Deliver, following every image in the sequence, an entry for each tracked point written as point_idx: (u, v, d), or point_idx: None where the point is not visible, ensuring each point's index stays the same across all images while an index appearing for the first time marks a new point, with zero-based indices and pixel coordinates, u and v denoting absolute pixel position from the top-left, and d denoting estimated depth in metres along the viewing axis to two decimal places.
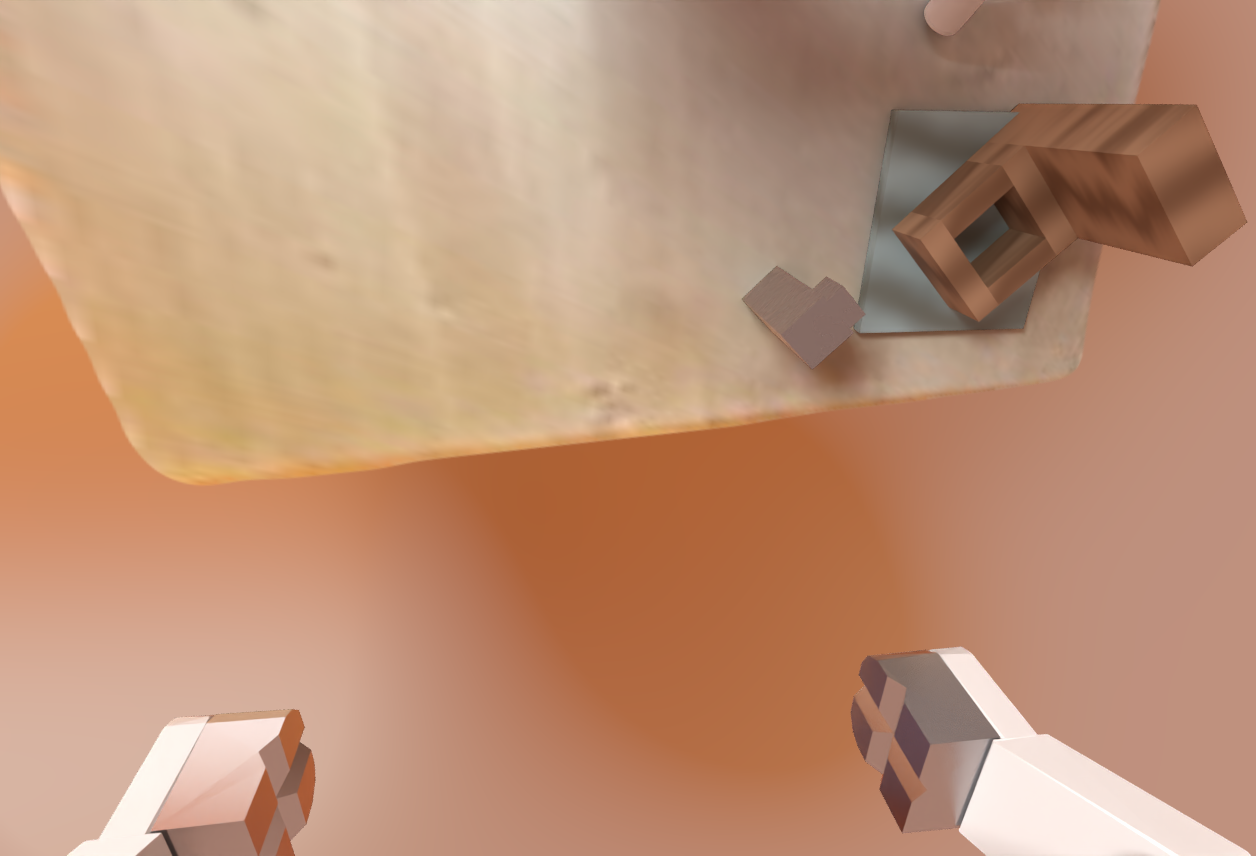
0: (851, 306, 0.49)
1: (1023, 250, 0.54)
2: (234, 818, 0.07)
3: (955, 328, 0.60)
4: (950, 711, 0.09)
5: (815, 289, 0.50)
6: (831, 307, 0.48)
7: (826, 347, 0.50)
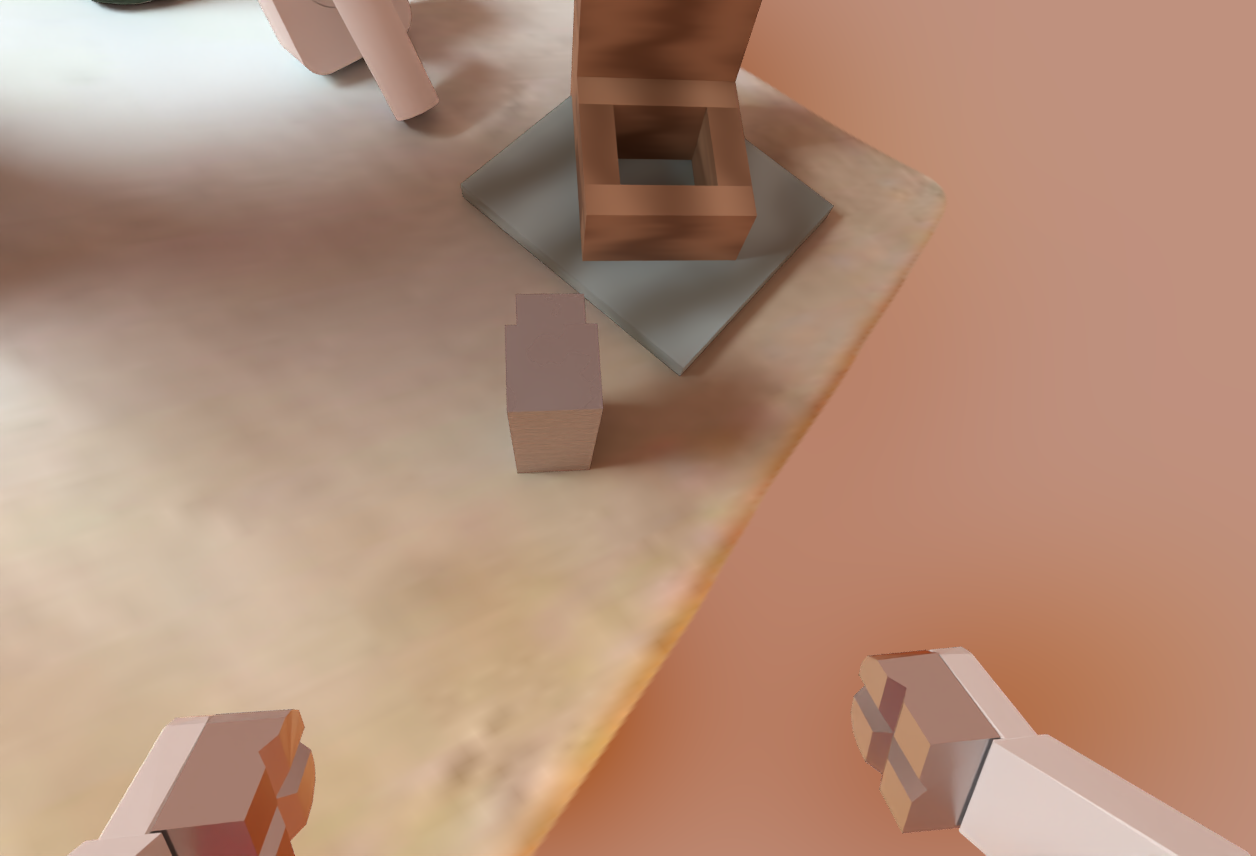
0: (554, 302, 0.29)
1: (707, 136, 0.40)
2: (235, 818, 0.07)
3: (771, 268, 0.42)
4: (949, 711, 0.09)
5: None
6: (531, 325, 0.29)
7: (586, 369, 0.28)
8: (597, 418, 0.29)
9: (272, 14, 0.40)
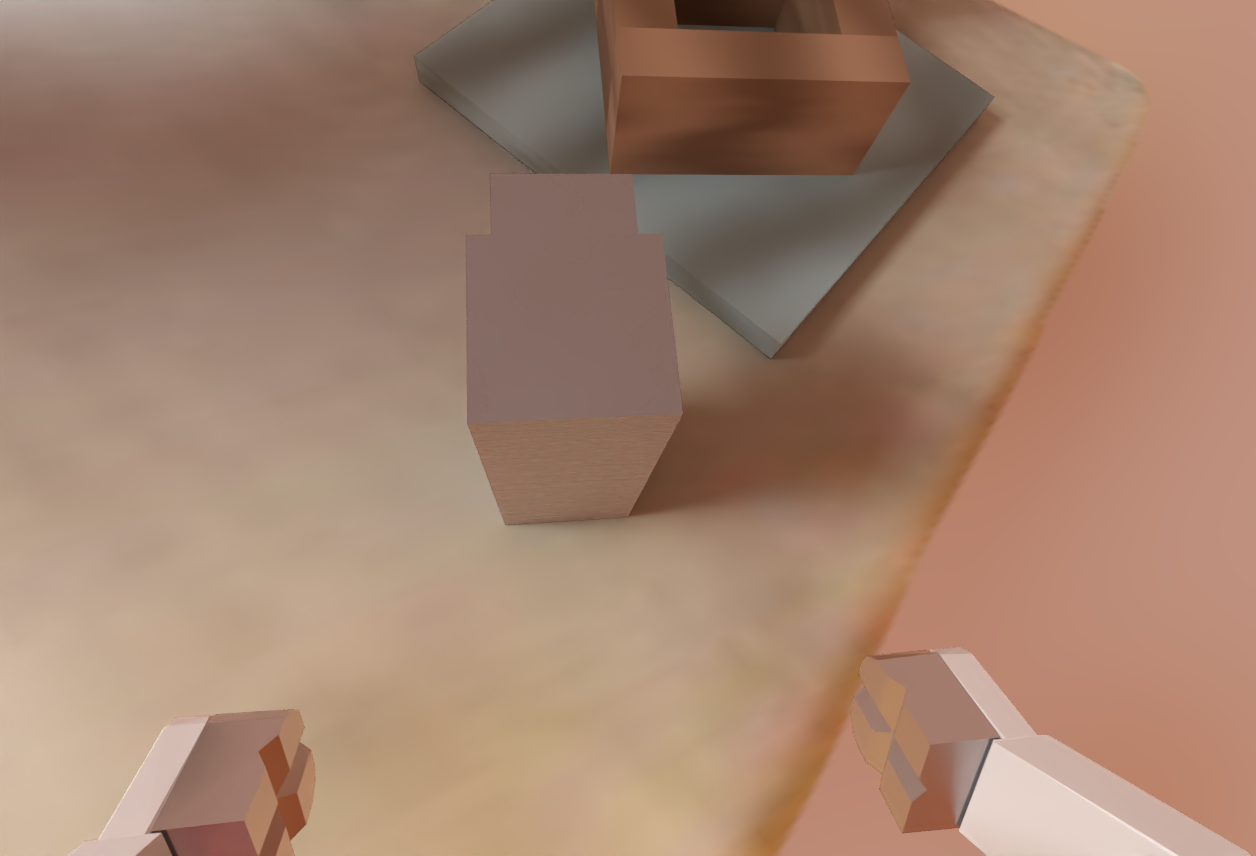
0: (571, 191, 0.14)
1: None
2: (234, 818, 0.07)
3: (909, 188, 0.26)
4: (949, 711, 0.09)
5: None
6: (523, 236, 0.13)
7: (642, 327, 0.13)
8: (664, 434, 0.14)
9: None
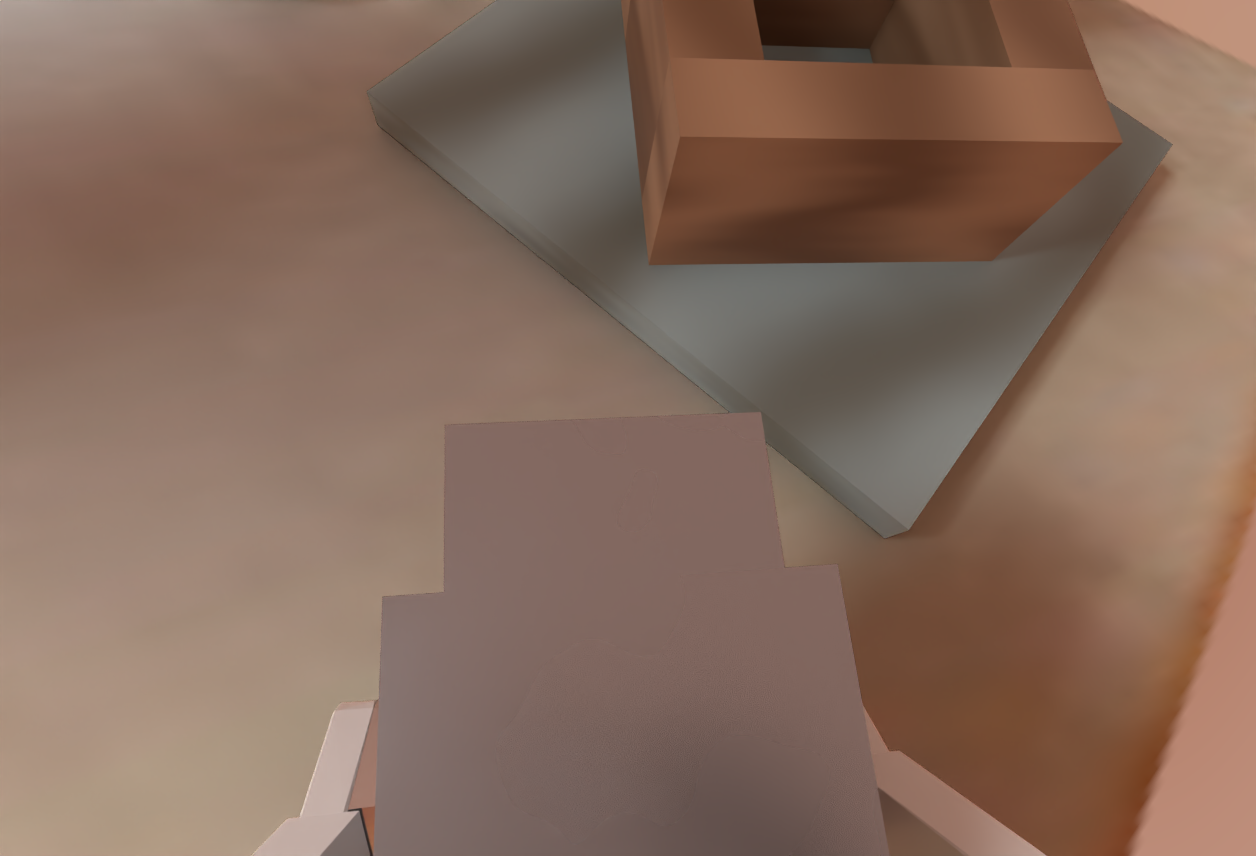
0: (629, 462, 0.06)
1: None
2: None
3: (1072, 278, 0.18)
4: None
5: None
6: (521, 592, 0.06)
7: (812, 845, 0.05)
8: None
9: None
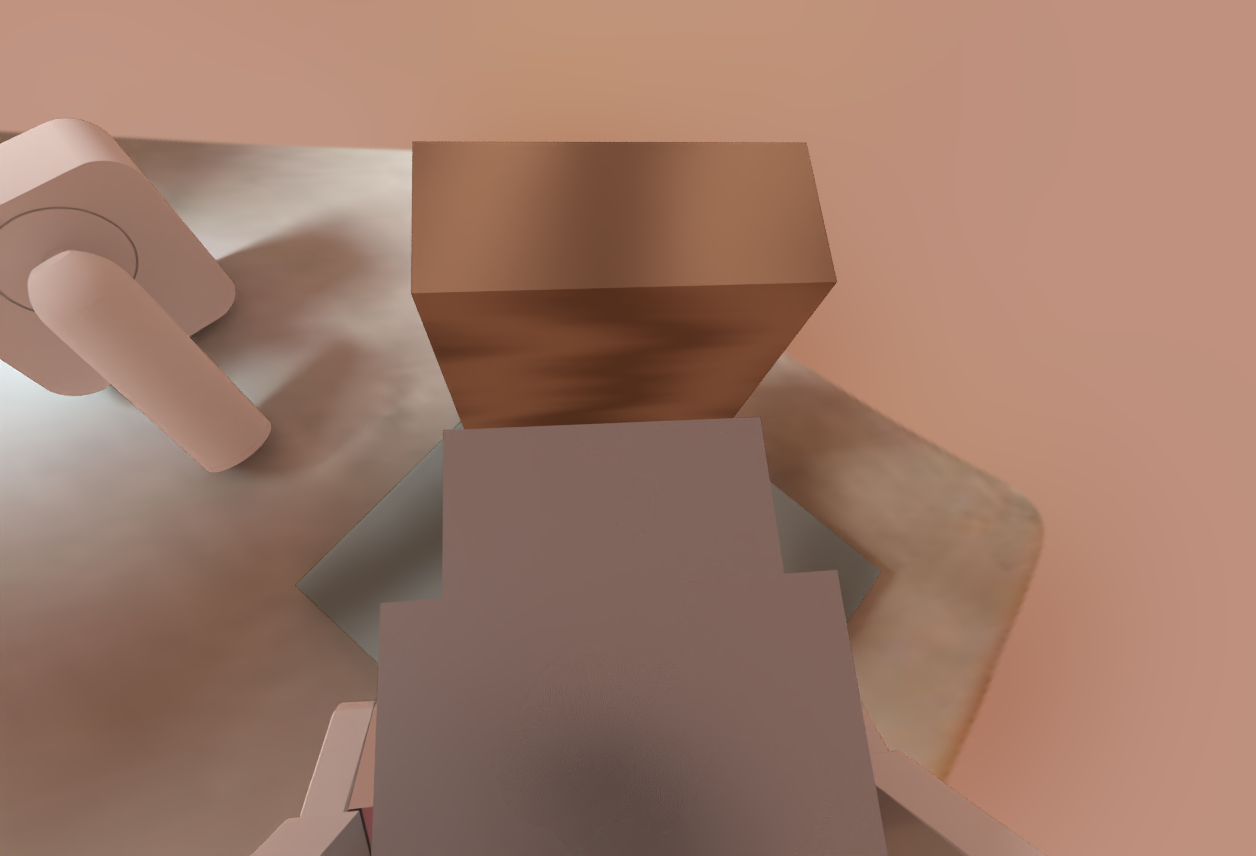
0: (629, 466, 0.06)
1: None
2: None
3: None
4: None
5: None
6: (519, 598, 0.06)
7: (813, 852, 0.05)
8: None
9: None
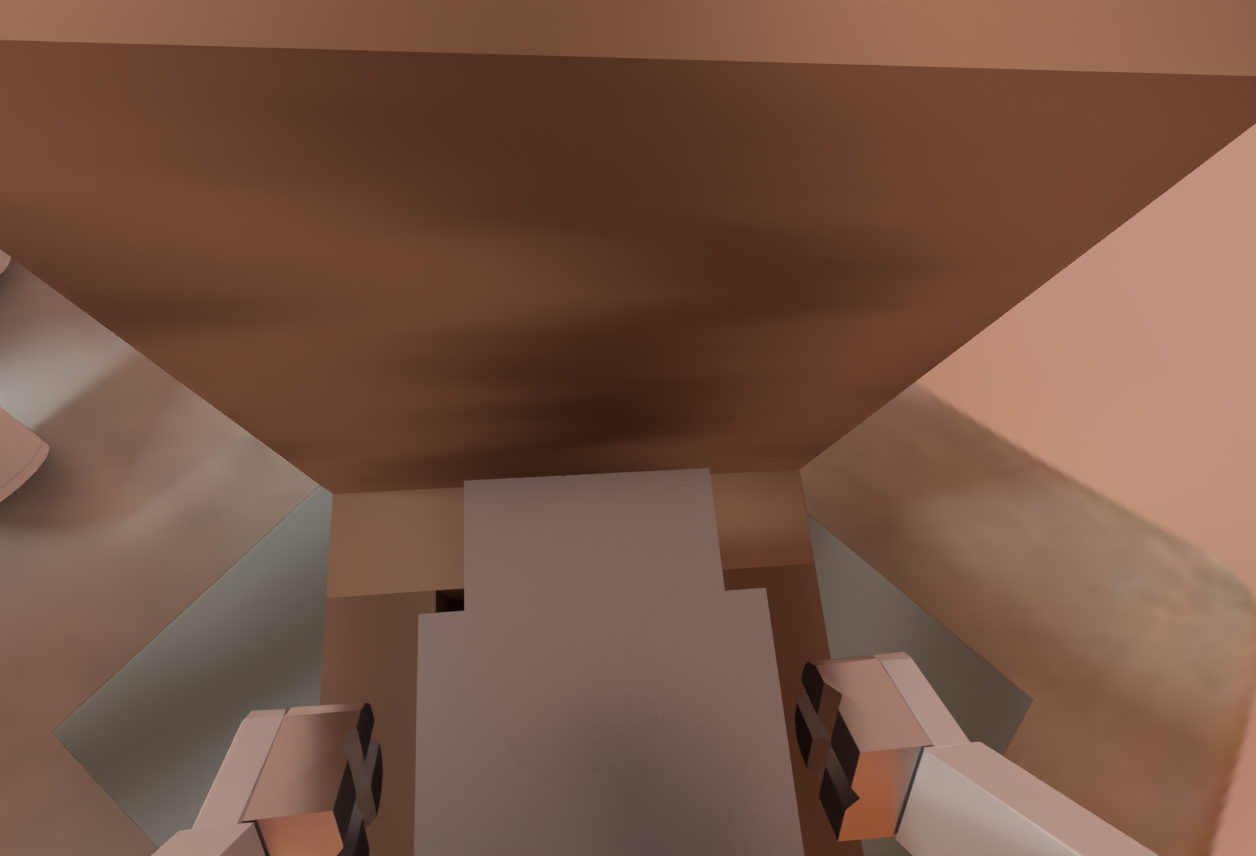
0: (606, 508, 0.08)
1: None
2: (323, 808, 0.07)
3: None
4: (883, 718, 0.09)
5: None
6: (522, 610, 0.07)
7: (739, 799, 0.07)
8: None
9: None
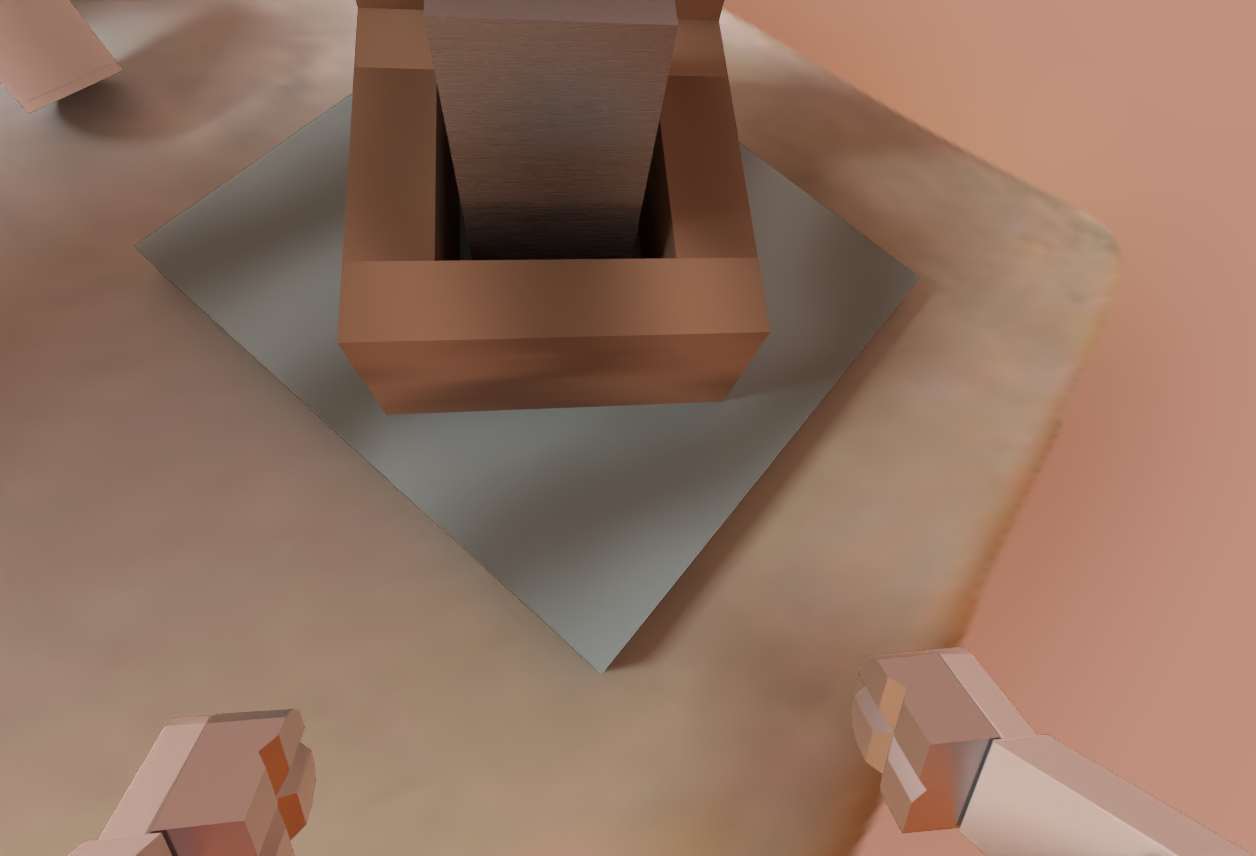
0: None
1: (656, 141, 0.18)
2: (234, 818, 0.07)
3: (799, 417, 0.20)
4: (950, 711, 0.09)
5: None
6: None
7: None
8: (657, 85, 0.12)
9: None
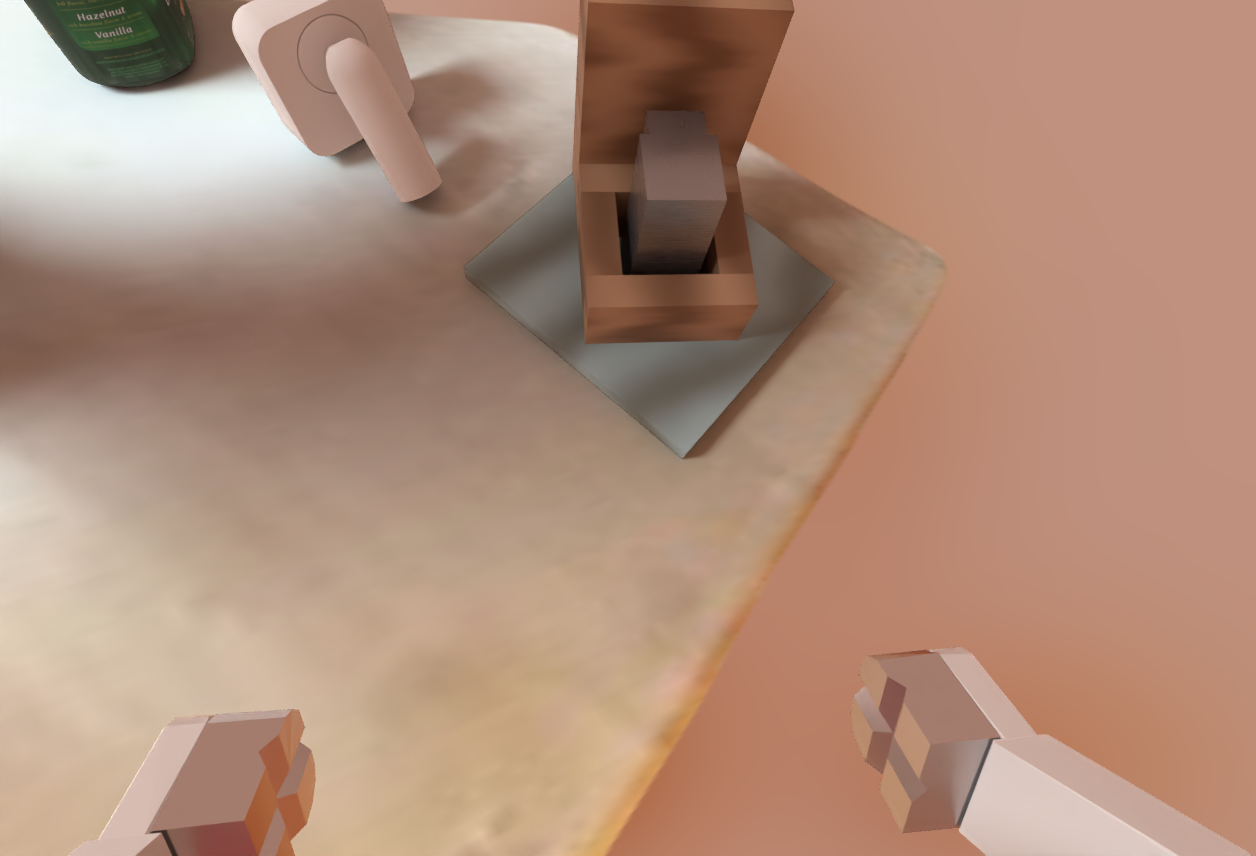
0: (679, 117, 0.34)
1: None
2: (234, 818, 0.07)
3: (773, 347, 0.42)
4: (949, 711, 0.09)
5: None
6: (662, 134, 0.34)
7: (710, 169, 0.33)
8: (718, 215, 0.34)
9: (276, 101, 0.40)
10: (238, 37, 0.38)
